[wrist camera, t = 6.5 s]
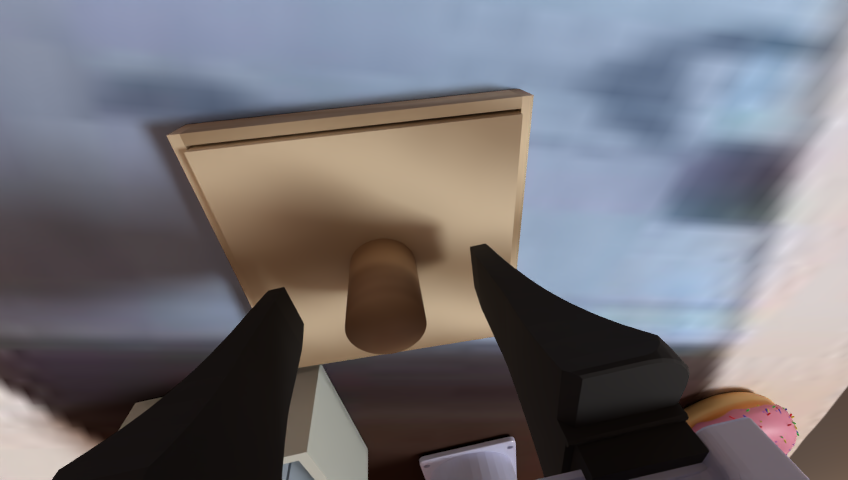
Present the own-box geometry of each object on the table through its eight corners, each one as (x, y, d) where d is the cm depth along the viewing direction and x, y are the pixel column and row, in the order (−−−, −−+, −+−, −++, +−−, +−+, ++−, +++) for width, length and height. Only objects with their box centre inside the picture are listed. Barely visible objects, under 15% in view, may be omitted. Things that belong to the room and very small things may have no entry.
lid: (501, 315, 20) (539, 399, 15) (288, 348, 19) (263, 447, 15) (518, 88, 13) (595, 122, 9) (186, 124, 12) (80, 182, 8)
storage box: (368, 449, 26) (367, 530, 22) (227, 481, 26) (199, 569, 22) (320, 362, 20) (306, 452, 16) (135, 403, 20) (72, 504, 16)
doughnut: (628, 454, 34) (658, 504, 30) (679, 387, 28) (723, 440, 24) (722, 442, 35) (761, 488, 32) (790, 376, 29) (846, 424, 26)
